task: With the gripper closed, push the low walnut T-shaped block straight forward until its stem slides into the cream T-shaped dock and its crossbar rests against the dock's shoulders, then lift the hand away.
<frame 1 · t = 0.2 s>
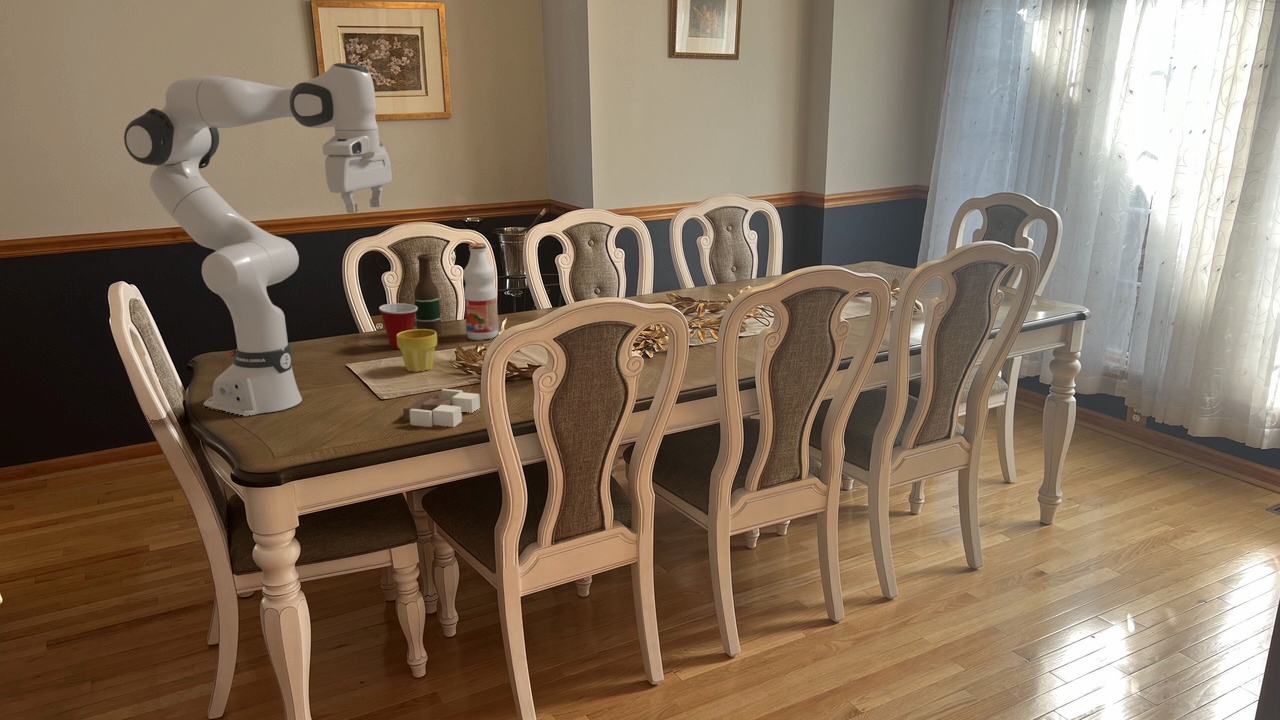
hand: (364, 209, 200), 47 cm above the table, tool pointing down, fingers open, 8 cm apart
cream T dock: (447, 415, 213), on the table
plant pot: (419, 369, 249), on the table
beer bottle: (429, 333, 284), on the table
plastic cup: (402, 347, 270), on the table
fruit juice: (483, 337, 279), on the table
walnut T block: (428, 413, 215), on the table
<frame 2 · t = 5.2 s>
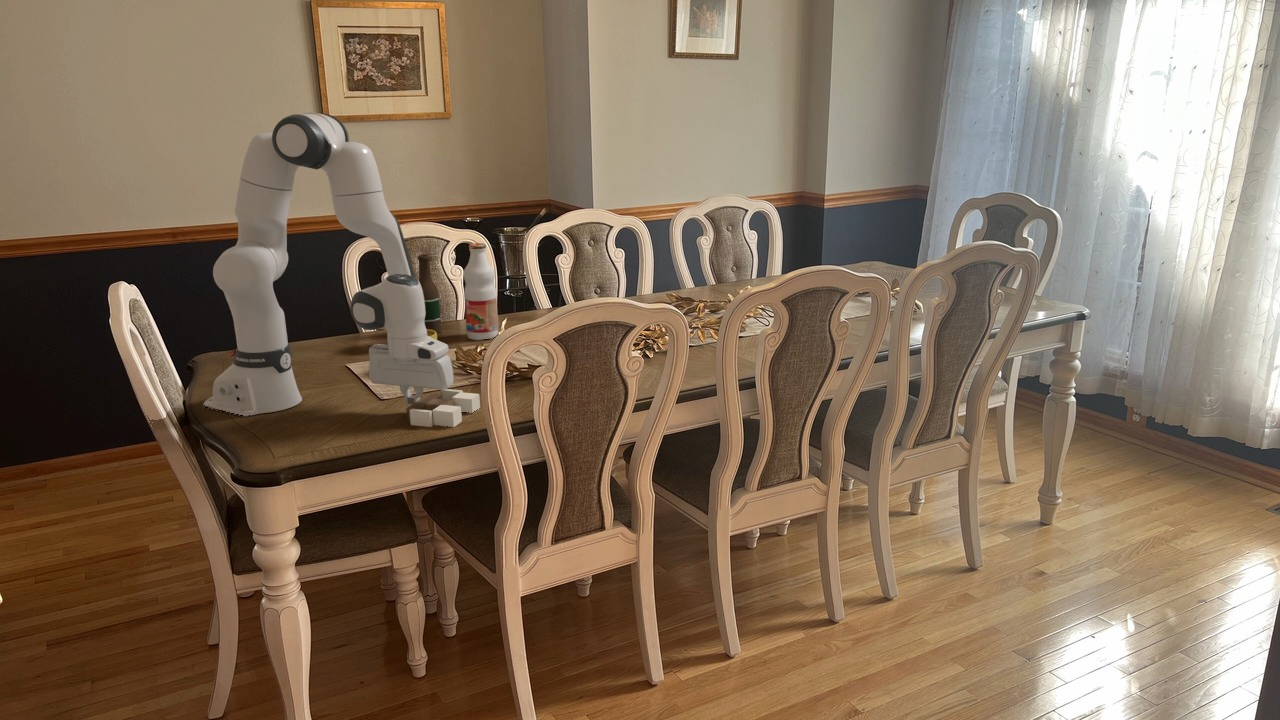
hand: (413, 403, 215), 2 cm above the table, tool pointing down, fingers closed
walnut T block: (431, 413, 214), on the table, touching gripper
everything else where it was.
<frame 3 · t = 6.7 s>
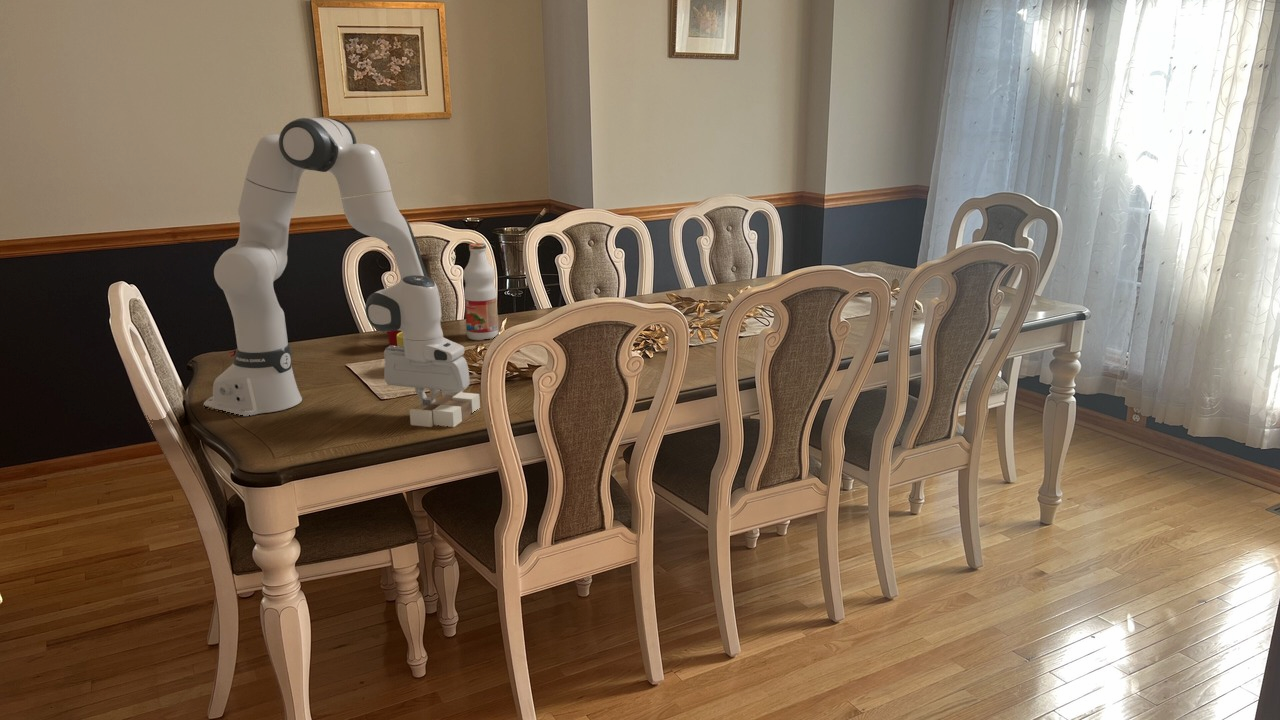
hand: (428, 405, 214), 2 cm above the table, tool pointing down, fingers closed
walnut T block: (447, 415, 213), on the table, touching gripper
everything else where it was.
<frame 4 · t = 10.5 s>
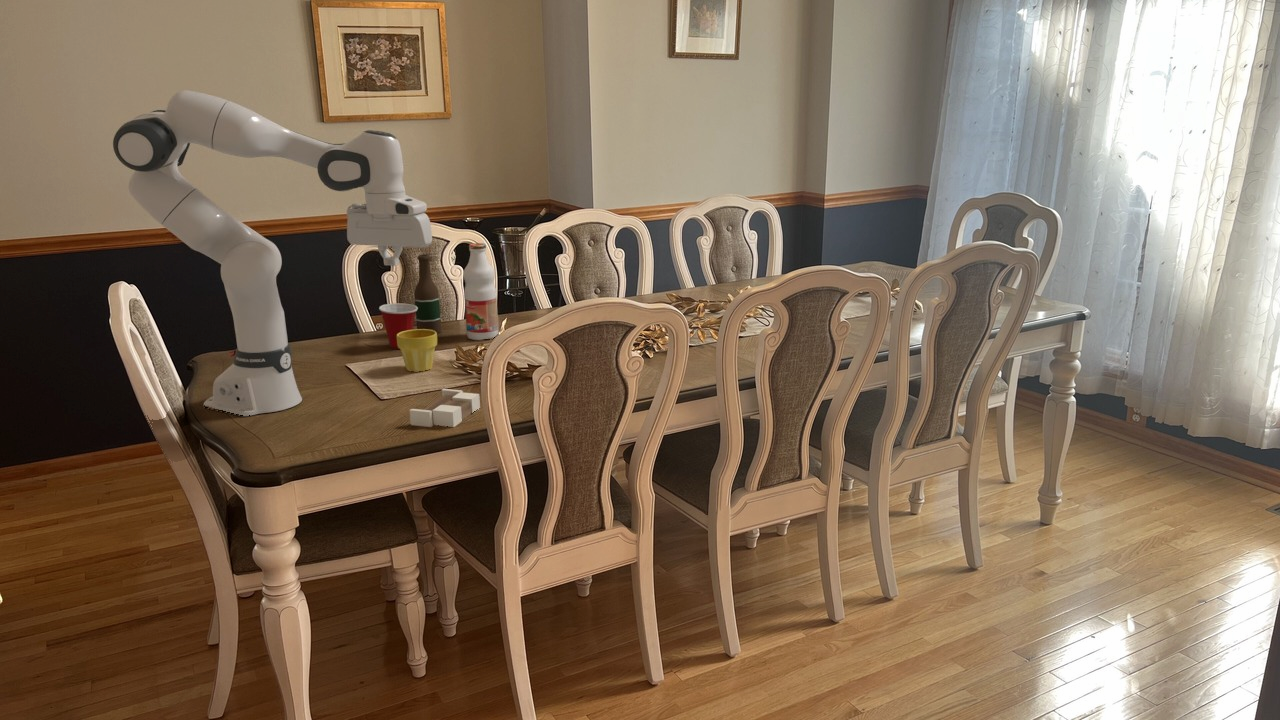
hand: (391, 265, 213), 33 cm above the table, tool pointing down, fingers closed
walnut T block: (447, 415, 213), on the table
everything else where it was.
at the end: walnut T block 0.2 cm off-centre on the cream T dock, point 0.0 cm above the cream T dock's base; walnut T block moved 4.8 cm from its start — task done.
